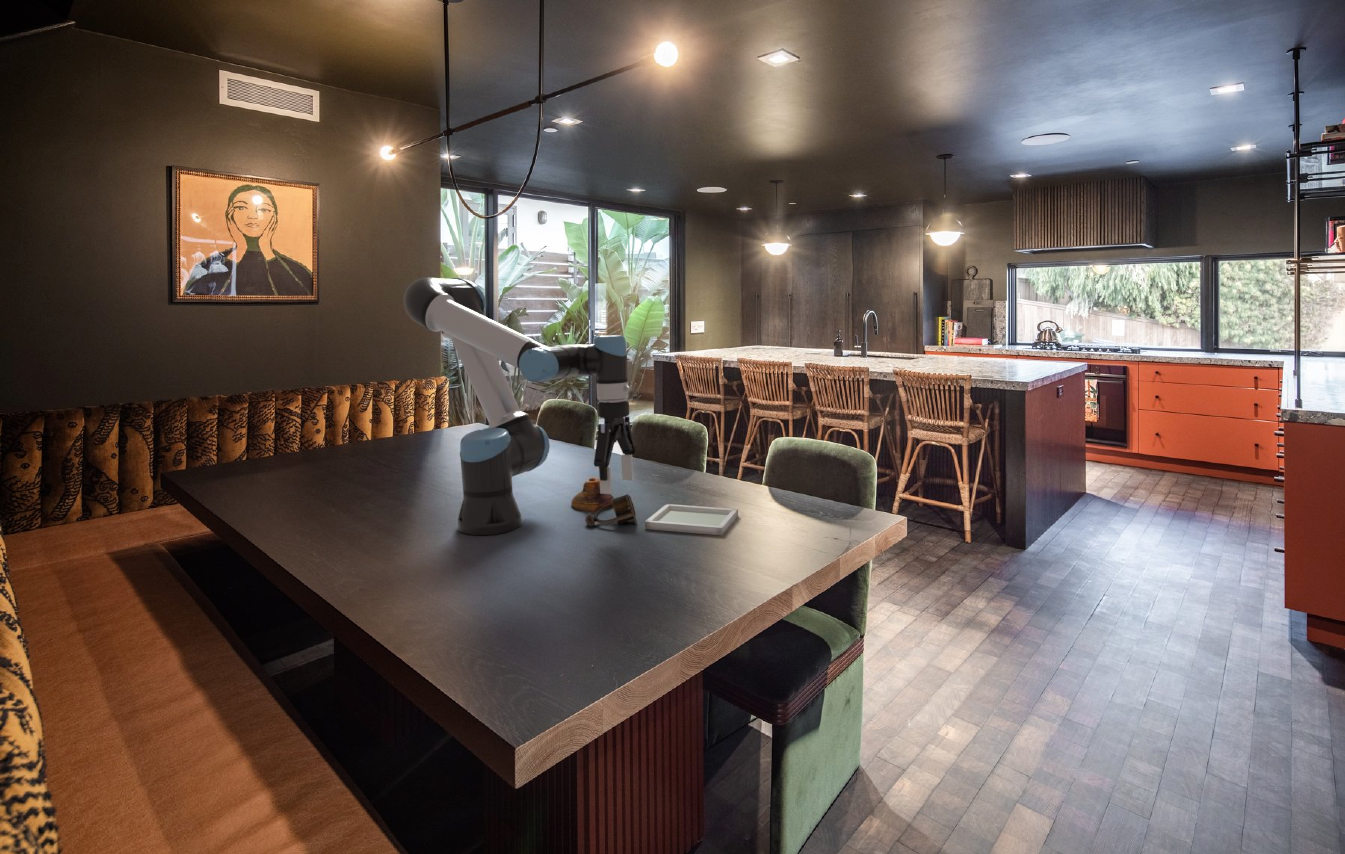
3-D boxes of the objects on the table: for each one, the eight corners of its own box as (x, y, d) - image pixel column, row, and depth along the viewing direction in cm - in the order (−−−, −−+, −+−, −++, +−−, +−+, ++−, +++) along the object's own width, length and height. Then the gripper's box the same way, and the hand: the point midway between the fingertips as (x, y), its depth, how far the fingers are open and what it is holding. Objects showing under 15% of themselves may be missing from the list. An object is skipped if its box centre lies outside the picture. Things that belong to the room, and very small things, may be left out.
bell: (598, 514, 184) (597, 486, 183) (562, 508, 190) (561, 481, 189) (624, 503, 194) (623, 477, 193) (589, 497, 200) (588, 472, 199)
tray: (644, 528, 170) (644, 521, 170) (666, 510, 185) (666, 503, 185) (722, 535, 164) (721, 527, 164) (738, 516, 179) (738, 509, 179)
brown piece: (633, 509, 168) (643, 490, 177) (581, 502, 170) (593, 484, 179) (633, 535, 171) (642, 515, 180) (581, 529, 173) (593, 509, 182)
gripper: (606, 407, 158) (611, 500, 161) (646, 394, 181) (649, 475, 184) (575, 407, 160) (581, 498, 163) (618, 394, 183) (622, 474, 187)
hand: (617, 486), depth 174 cm, fingers open, 13 cm apart
